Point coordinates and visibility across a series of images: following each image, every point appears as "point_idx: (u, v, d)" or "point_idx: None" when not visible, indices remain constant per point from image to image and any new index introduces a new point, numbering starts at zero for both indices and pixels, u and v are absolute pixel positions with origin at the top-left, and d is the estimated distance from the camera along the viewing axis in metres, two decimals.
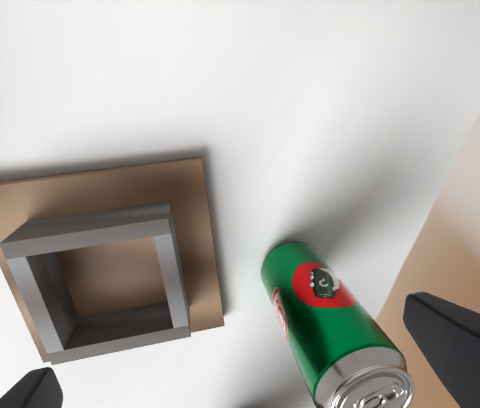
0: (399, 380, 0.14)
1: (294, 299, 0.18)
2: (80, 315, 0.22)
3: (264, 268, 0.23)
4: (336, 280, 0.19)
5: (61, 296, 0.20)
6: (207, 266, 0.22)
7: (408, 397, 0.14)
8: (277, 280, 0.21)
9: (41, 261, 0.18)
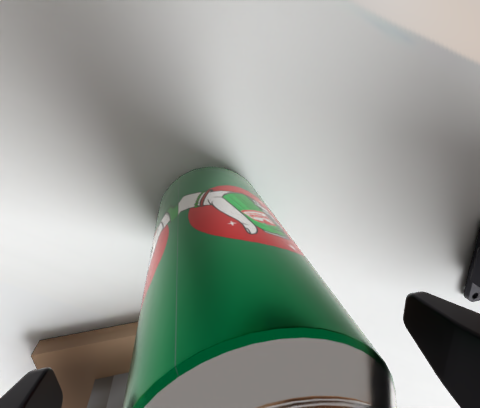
0: None
1: None
2: None
3: None
4: (154, 248, 0.09)
5: None
6: None
7: None
8: None
9: None
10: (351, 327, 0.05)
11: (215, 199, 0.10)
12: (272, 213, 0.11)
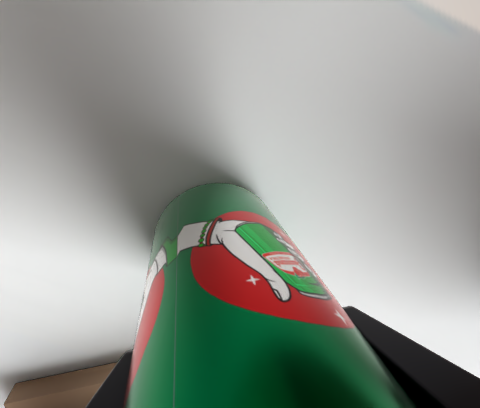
0: None
1: None
2: None
3: None
4: (145, 301, 0.07)
5: None
6: None
7: None
8: None
9: None
10: None
11: (226, 233, 0.07)
12: (296, 246, 0.09)
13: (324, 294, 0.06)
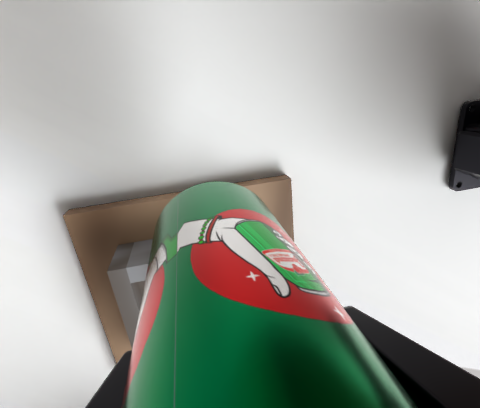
0: None
1: None
2: None
3: None
4: (145, 297, 0.07)
5: None
6: None
7: None
8: None
9: None
10: None
11: (226, 231, 0.07)
12: (295, 244, 0.09)
13: (323, 291, 0.06)
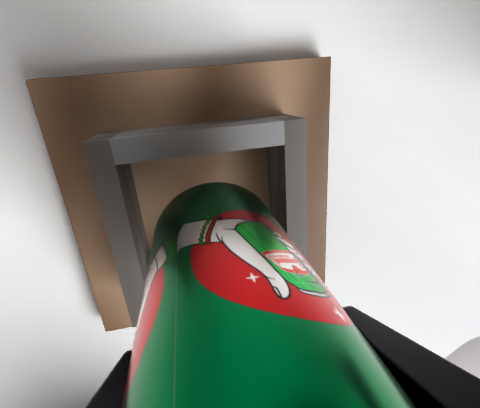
0: None
1: None
2: None
3: None
4: (145, 298, 0.07)
5: None
6: (214, 80, 0.14)
7: None
8: None
9: None
10: None
11: (226, 232, 0.07)
12: (295, 245, 0.09)
13: (323, 292, 0.06)
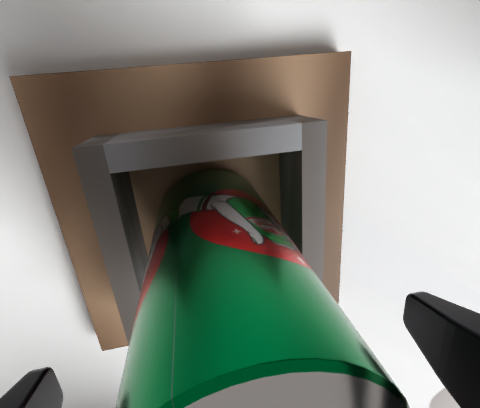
0: None
1: None
2: None
3: None
4: (151, 253, 0.09)
5: None
6: (221, 77, 0.13)
7: None
8: None
9: None
10: (369, 357, 0.05)
11: (219, 203, 0.09)
12: None
13: (291, 247, 0.08)
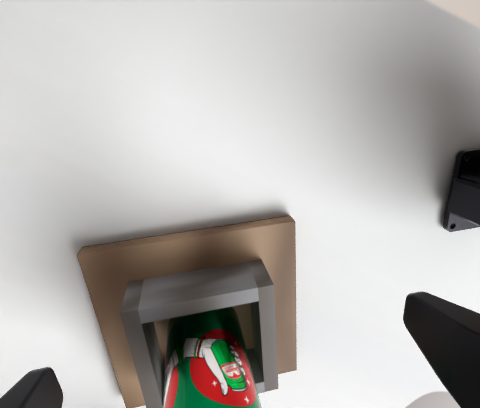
0: None
1: None
2: (251, 347, 0.23)
3: None
4: (168, 382, 0.16)
5: None
6: (209, 243, 0.20)
7: None
8: None
9: None
10: None
11: (206, 350, 0.16)
12: (242, 348, 0.18)
13: (244, 387, 0.15)
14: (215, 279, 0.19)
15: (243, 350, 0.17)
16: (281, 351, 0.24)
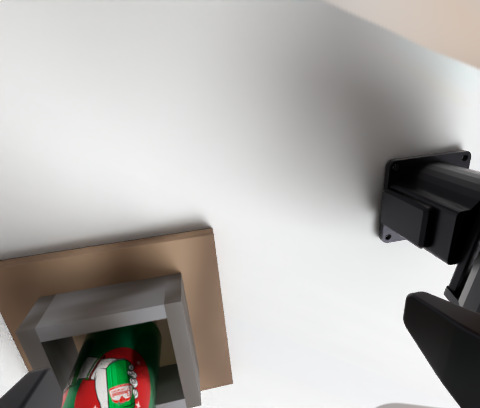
0: None
1: None
2: None
3: None
4: None
5: None
6: (123, 257, 0.19)
7: None
8: None
9: None
10: None
11: (100, 371, 0.16)
12: (147, 367, 0.17)
13: None
14: (126, 295, 0.18)
15: (147, 369, 0.17)
16: (214, 365, 0.24)
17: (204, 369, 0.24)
